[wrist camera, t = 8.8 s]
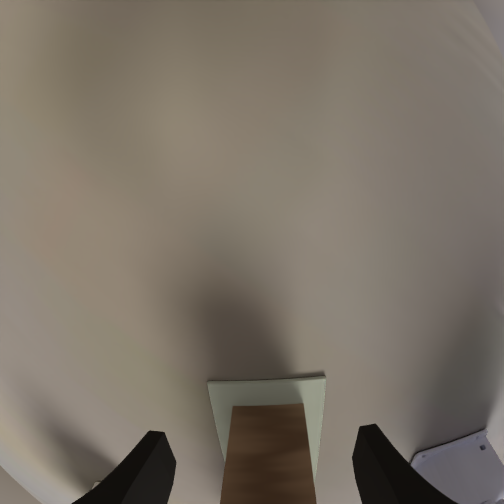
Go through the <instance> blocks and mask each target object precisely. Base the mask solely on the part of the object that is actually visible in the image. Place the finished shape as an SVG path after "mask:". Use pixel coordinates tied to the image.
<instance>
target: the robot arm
mask: <svg viewBox="0 0 504 504" xmlns="http://www.w3.org/2000/svg"><path fill="white" fill-rule="evenodd" d="M487 433H488V430H487V429H484V430H482V431H480V432H477V433H475V434H472V435H469V436H467V437H464V438H461V439H459V440H456V441H453V442H450V443H447V444H444V445H441V446H438V447H435V448H432V449H429V450H425V451H422V452H419V453H417V454H416V455H415V456H414V458H413V460H412V463H411V465H410V464H409V463H408V462H407V461H406V460H405V459H404V458H403V457H402V455H401V454H400V453H399V452H398V451H397V450H396V449H395V447H394V446H393V445H392V444H391V442H390V441H389V440H388V439H387V437H386V436H385V435H384V434H383V432H382V431H381V430H380V428H379V427H378V426H377V425H376V424H371V425H365V426H360V427H359V431H358V435H357V440H356V444H355V448H354V452H353V456H352V460H353V467H354V473H355V480H356V483H357V487H358V490H359V494H360V497H361V501H362V504H504V500H503V498H504V465H503V464H502V462H501V460H500V459H499V457H498V455H497V454H496V452H495V450H494V449H493V447H492V446H491V444H490V442H489V441H488V439H487V438H486V435H487ZM175 469H176V460H175V458H174V455H173V453H172V450H171V448H170V445H169V443H168V440H167V438H166V435H165V432H159V431H148V432H147V434H146V435H145V436H144V437H143V438H142V439H141V441H140V442H139V443H138V444H137V445H136V446H135V448H134V449H133V450H132V451H131V452H130V453H129V454H128V456H127V457H126V458H125V459H124V460H123V461H122V462H121V463H120V464H119V465H118V466H117V467H116V468H115V469H114V470H113V471H112V472H111V473H110V474H109V475H108V476H107V477H106V478H105V479H104V480H102V481H101V482H100V483H99V484H98V485H97V486H96V487H94V488H93V489H92V490H91V491H89V492H88V493H86V494H85V495H84V496H82V497H81V498H79V499H78V500H76V501H75V502H73V503H72V504H167V502H168V499H169V496H170V493H171V489H172V486H173V481H174V475H175Z"/></svg>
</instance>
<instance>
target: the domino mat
mask: <svg viewBox="0 0 504 504" xmlns="http://www.w3.org/2000/svg"><path fill="white" fill-rule="evenodd" d="M207 386H208V391H209V396H210V401H211V405H212V410H213V415H214V419H215V424H216V428H217V433H218V437H219V441H220V446H221V450H222V454H223V458H224V462H225V461H226V453H227V446H228V438H229V430H230V422H231V415H232V407H233V406H259V405H283V404H299V403H304V410H305V417H306V424H307V432H308V439H309V447H310V455H311V462H312V470H313V479H314V483H315V476H316V469H317V462H318V454H319V446H320V438H321V429H322V419H323V409H324V398H325V386H326V376H318V377H307V378H294V379H278V380H256V381H208V382H207Z"/></svg>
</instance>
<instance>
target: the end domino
mask: <svg viewBox="0 0 504 504" xmlns="http://www.w3.org/2000/svg"><path fill="white" fill-rule="evenodd" d="M220 504H316V495H315V487H314V479H313V470H312V462H311V455H310V447H309V439H308V432H307V424H306V417H305V410H304V403H299V404H283V405H259V406H233V407H232V415H231V422H230V430H229V438H228V446H227V453H226V461H225V469H224V477H223V484H222V492H221V500H220Z"/></svg>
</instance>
